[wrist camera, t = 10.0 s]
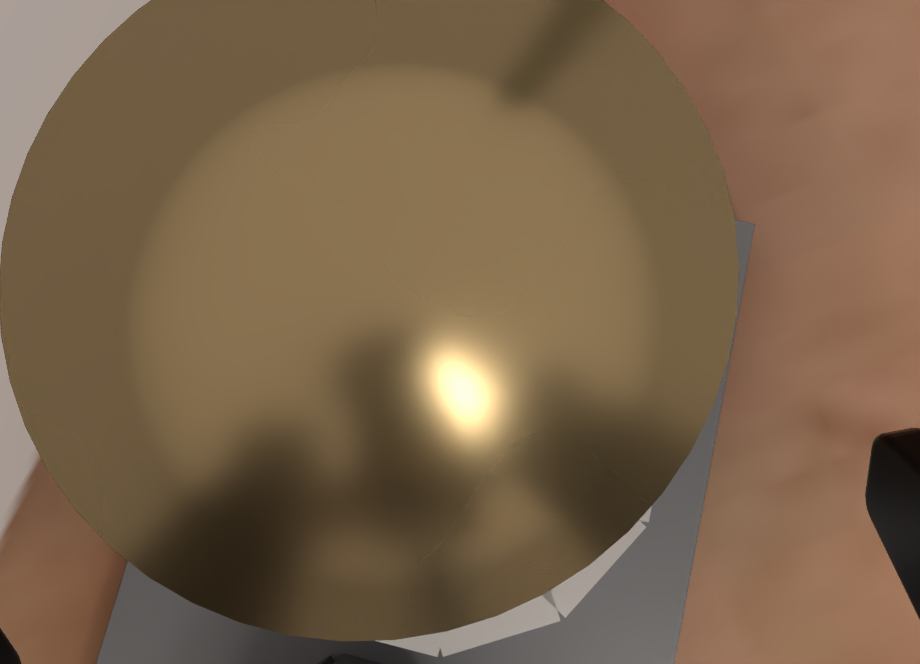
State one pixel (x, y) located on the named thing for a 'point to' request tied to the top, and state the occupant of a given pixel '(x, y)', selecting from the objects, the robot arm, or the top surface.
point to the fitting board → (576, 639)
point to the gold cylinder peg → (368, 301)
